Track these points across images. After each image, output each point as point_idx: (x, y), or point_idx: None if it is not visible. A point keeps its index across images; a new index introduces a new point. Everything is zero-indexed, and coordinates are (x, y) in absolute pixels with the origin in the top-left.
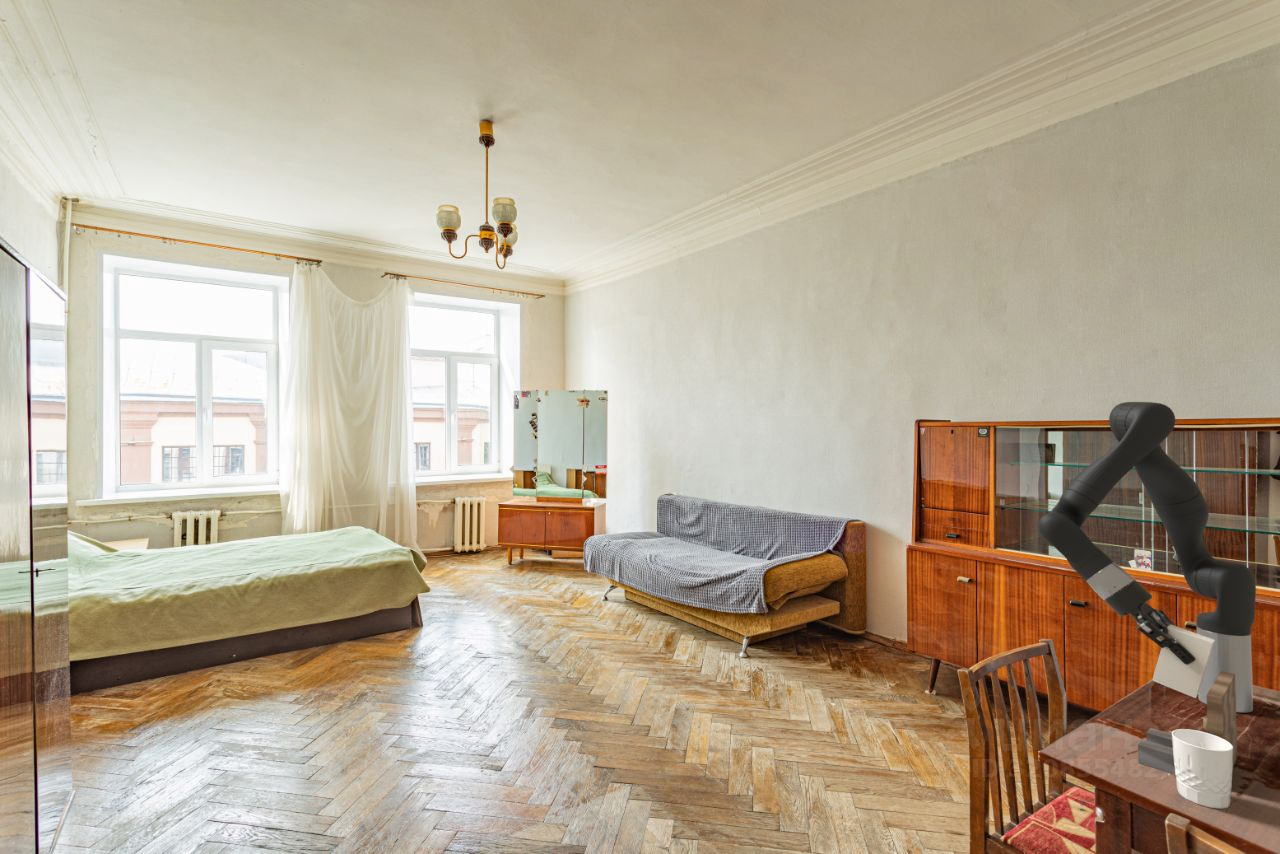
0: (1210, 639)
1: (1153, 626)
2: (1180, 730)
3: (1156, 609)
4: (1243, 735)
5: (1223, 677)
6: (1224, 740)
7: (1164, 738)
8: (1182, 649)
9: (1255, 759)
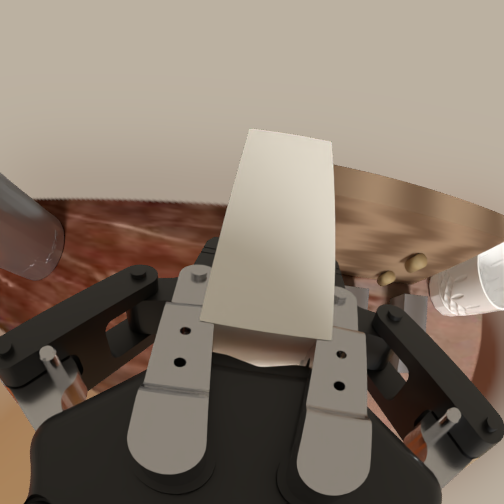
0: (270, 140)
1: (479, 399)
2: (490, 300)
3: (137, 452)
4: (158, 230)
5: (357, 187)
6: None
7: None
8: None
9: None
